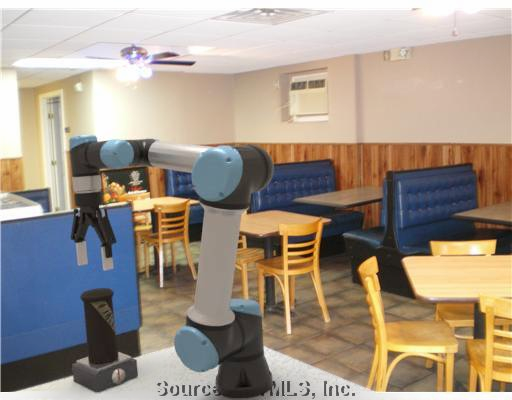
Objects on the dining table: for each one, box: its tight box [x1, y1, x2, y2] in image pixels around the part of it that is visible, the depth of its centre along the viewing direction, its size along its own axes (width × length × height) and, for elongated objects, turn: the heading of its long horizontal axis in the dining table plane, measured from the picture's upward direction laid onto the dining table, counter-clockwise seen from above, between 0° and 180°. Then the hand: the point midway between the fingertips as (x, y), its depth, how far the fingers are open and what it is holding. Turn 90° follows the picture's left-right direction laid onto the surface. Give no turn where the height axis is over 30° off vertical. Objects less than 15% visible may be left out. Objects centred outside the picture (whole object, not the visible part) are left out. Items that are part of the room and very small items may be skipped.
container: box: [79, 287, 119, 364], centre depth 157 cm, size 9×9×20 cm
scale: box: [71, 351, 139, 393], centre depth 158 cm, size 14×13×6 cm
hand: (95, 267), depth 156 cm, fingers open, 13 cm apart
